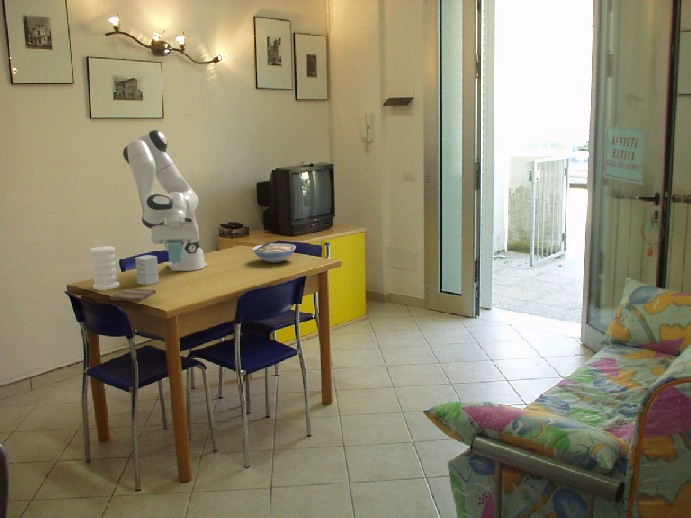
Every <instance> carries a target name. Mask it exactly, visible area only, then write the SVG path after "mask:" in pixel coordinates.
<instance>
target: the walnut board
mask: <svg viewBox="0 0 691 518" xmlns="http://www.w3.org/2000/svg"><path fill="white" fill-rule="evenodd" d="M156 293H157V291H156V289H147V288H146V289H145V288H125V289H123V290H121V291H119V292H116V293H115V294H112V295H111V296H109V301H115V302H116V301H117V302H118V301H119V302H137V301H138V302H142V301H144V300H145V299H147V298H149V297H151V296H153V295H154V294H156Z"/></svg>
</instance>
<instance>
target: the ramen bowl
mask: <svg viewBox="0 0 691 518" xmlns="http://www.w3.org/2000/svg"><path fill="white" fill-rule="evenodd" d="M296 248H297V246H296V245H295V244H292V243H291V244H290V243H273V241H270V240H268V241H266V242H265V243H264V244H261V245H256V246H254V247H252V251H253V253H254V254H255V255H256V256H257V258H259V259H260V260H262V261H266V262H267V263H270V264H271V263H275V264H276V263H281V262H282V261H284V260H287V259H289V258H291V256H292V255H293V254H294V252H295V250H296Z"/></svg>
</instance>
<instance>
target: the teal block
mask: <svg viewBox="0 0 691 518" xmlns="http://www.w3.org/2000/svg"><path fill="white" fill-rule="evenodd" d="M167 246H168V251H167V252H168V263H171V262H181V261H182V251H181V249H180V246H181V242H169V243H168V244H167Z"/></svg>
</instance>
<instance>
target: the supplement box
mask: <svg viewBox="0 0 691 518" xmlns="http://www.w3.org/2000/svg"><path fill="white" fill-rule="evenodd" d="M134 259H135V261H134V262H135V269H136V270H135V272H136V283H137V284H138V285H141V284H142V286H151V285H154V284H155V285H156V284H158V283H160V277H159V263H158V256H156V255H151V254H145V255H142V256H137V257H135V258H134Z"/></svg>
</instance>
